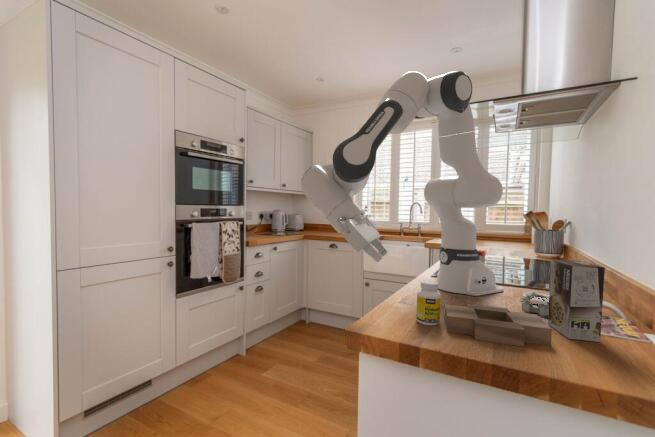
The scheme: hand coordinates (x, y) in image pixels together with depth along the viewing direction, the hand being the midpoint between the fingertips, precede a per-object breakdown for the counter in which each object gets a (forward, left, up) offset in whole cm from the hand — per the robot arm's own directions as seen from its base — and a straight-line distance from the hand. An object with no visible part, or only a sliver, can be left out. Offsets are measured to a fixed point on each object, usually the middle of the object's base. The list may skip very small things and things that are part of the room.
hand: (383, 257), depth 77 cm
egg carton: (-46, +6, -15) cm, 49 cm away
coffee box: (-38, +20, -15) cm, 46 cm away
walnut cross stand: (-21, +15, -15) cm, 29 cm away
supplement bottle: (-9, +7, -15) cm, 19 cm away
